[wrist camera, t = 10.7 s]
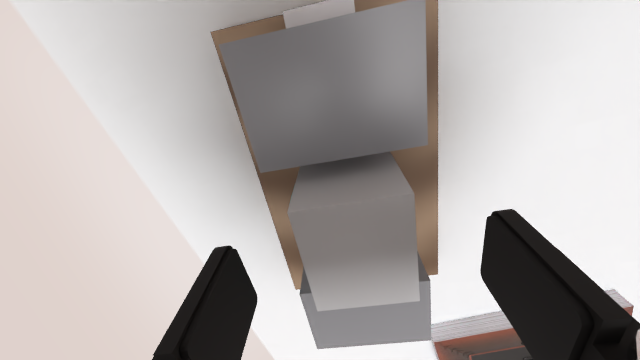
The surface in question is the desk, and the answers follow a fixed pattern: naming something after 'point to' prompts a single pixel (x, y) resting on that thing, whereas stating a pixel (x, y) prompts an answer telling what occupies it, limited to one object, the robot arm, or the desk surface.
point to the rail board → (412, 162)
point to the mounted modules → (340, 126)
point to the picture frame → (488, 336)
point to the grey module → (356, 232)
